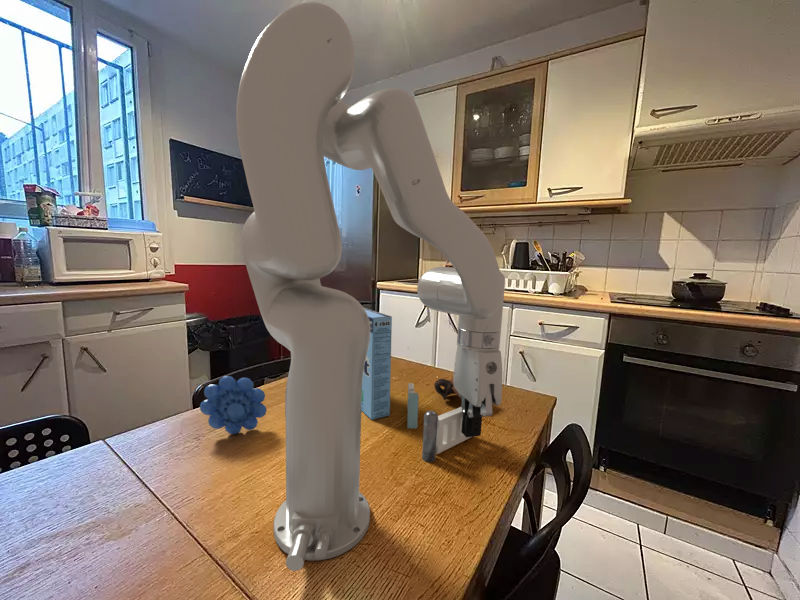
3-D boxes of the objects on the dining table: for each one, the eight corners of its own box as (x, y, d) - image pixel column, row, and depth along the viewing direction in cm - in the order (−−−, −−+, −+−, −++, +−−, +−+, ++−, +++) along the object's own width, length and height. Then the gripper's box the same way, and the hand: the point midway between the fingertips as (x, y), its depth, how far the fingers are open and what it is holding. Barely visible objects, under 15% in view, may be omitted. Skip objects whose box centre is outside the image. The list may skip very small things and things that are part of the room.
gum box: (390, 416, 77) (393, 316, 74) (369, 421, 74) (372, 317, 71) (354, 386, 93) (356, 303, 90) (337, 389, 91) (338, 304, 88)
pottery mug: (471, 395, 92) (484, 375, 87) (475, 425, 84) (489, 405, 79) (429, 383, 90) (440, 362, 86) (428, 413, 83) (440, 391, 78)
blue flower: (200, 452, 61) (198, 387, 59) (201, 434, 66) (198, 375, 65) (270, 437, 66) (269, 378, 65) (265, 422, 72) (264, 367, 71)
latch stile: (417, 428, 72) (418, 396, 71) (407, 428, 72) (409, 396, 71) (416, 423, 74) (417, 392, 73) (407, 423, 74) (408, 392, 73)
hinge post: (436, 462, 60) (439, 414, 59) (422, 462, 60) (424, 414, 59) (435, 454, 63) (437, 408, 62) (420, 453, 63) (423, 407, 62)
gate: (437, 456, 62) (439, 420, 61) (432, 452, 63) (434, 417, 62) (475, 437, 69) (477, 404, 68) (469, 434, 70) (472, 402, 69)
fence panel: (414, 423, 74) (415, 397, 73) (409, 423, 74) (410, 397, 73) (412, 407, 82) (413, 383, 81) (407, 407, 82) (408, 383, 81)
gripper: (522, 348, 55) (512, 454, 58) (475, 329, 70) (469, 414, 72) (481, 350, 53) (473, 460, 56) (442, 329, 67) (436, 418, 70)
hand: (470, 434), depth 64 cm, fingers closed
